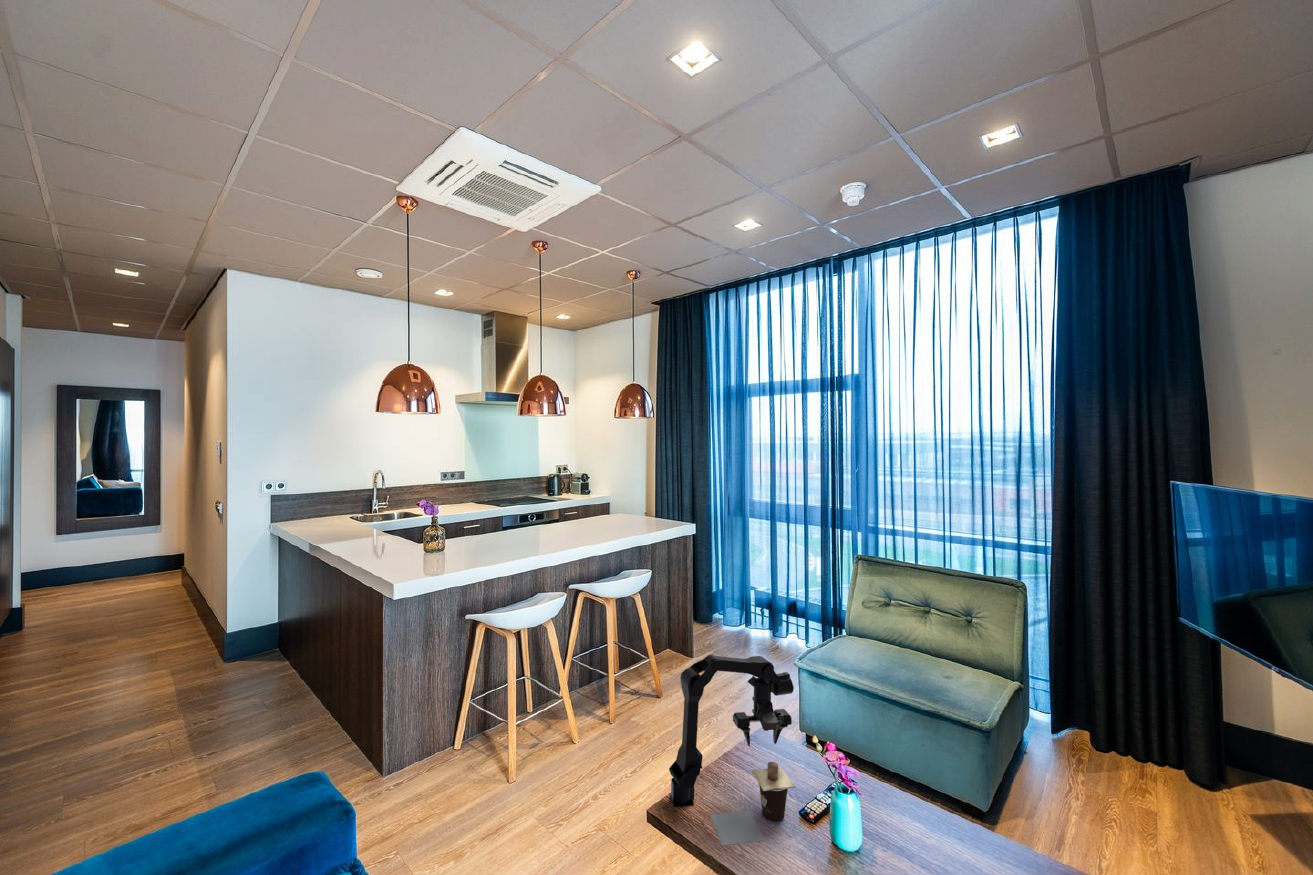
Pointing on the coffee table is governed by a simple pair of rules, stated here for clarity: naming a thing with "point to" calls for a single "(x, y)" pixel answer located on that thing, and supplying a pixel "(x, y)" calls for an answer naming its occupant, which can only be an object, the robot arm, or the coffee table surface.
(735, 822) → the mat
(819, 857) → the coffee table surface
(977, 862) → the coffee table surface
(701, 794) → the coffee table surface
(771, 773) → the lid
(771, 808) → the coffee mug
